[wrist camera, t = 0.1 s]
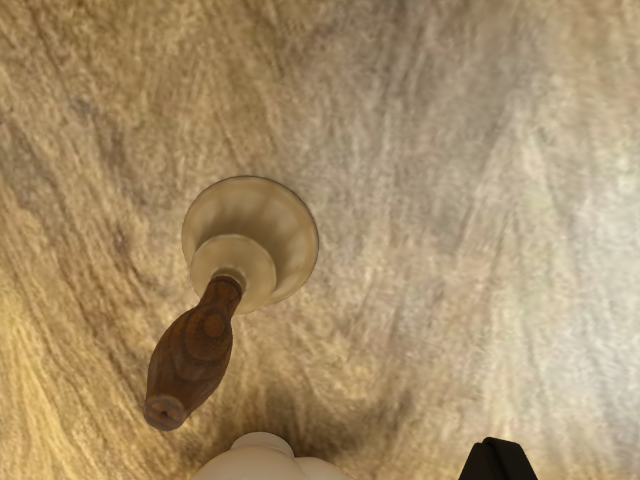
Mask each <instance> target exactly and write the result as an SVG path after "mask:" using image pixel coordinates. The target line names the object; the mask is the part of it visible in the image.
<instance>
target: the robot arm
mask: <svg viewBox="0 0 640 480" xmlns="http://www.w3.org/2000/svg"><path fill="white" fill-rule="evenodd" d="M458 480H538V479H537V477H536V475H535V473H534V471H533V469H532V467H531V465H530V463H529V461H528V459H527V457H526V455H525V453H524V451H523V449H522V447H521V446H520V445H519V444H517V443H515V442H510V441H506V440H501V439H497V438H493V437H486V438H485V439H484V440H483V442H482V443H475V444H474V446H473V447H472V449H471V452H470V454H469V456H468V459H467V461H466V463H465V465H464V468H463V470H462V472H461V475H460V477H459V479H458Z"/></svg>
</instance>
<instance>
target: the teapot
mask: <svg viewBox="0 0 640 480" xmlns="http://www.w3.org/2000/svg"><path fill="white" fill-rule="evenodd" d="M190 480H355V479H354V478H353V477H352V476H350V475H349V474H347V473H346V472H345V471H343V470H342V469H340V468H338V467H337V466H335V465H333V464H331V463H329V462H327V461H325V460H322V459H319V458H315V457H298V458H294V454H293V451H292V449H291V447H290V446H289V445H288V443H287V442H286V441H284V440H283V439H282V438H280V437H278V436H276V435H274V434H271V433H267V432H252V433H248V434H245V435H243V436H241V437H240V438H238V439H237V440H236V441H235V442H234V443H233V444H232V446H231V448H230V450H228V451H226V452H223V453H221V454H219V455H218V456H216V457H214V458H213V459H211V460H210V461H208V462H207V463H206V464H205V465H203V466H202V467H201V468H200V469H199V470H198V471H197V472H196V473H195V474H194V475H193V476H192V477H191V478H190Z"/></svg>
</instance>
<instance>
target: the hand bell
mask: <svg viewBox="0 0 640 480" xmlns="http://www.w3.org/2000/svg"><path fill="white" fill-rule="evenodd" d="M182 248H183V253H184V257H185V260H186V262H187V264H188V267H189V269H190V278H191V283H192V286H193V288H194V290H195V292H196V294H197V295H198V297H199V298H200V299H201V300H200V302H199V304H198V305H197V306H196V307H194V308H192V309H191V310H189V311H187V312H185V313H184V314H182V315H181V316H180V317H179V318H177V319H176V320H175V321H174V322H173V323H172V324H171V326H170V327H169V328H168V329H167V330H166V331H165V333H164V334H163V336H162V337H161V339H160V341H159V342H158V344H157V346H156V347H155V350H154V352H153V354H152V357H151V360H150V364H149V368H148V377H147V394H146V400H145V404H144V407H143V414H144V418H145V420H146V422H147V423H148V424H149V425H151V426H152V427H155V428H157V429H160V430H162V431H171V430H174V429H177V428H178V427H180V426H181V425H182V424H183V423H184V421H185V420H186V419H187V418H188V416H189V415H190V414H191V413H192V412H193V411H194V410H195V409H197V408H198V407H199V406H200V405H202V404H203V403H204V402H205V401H206V400H207V399H208V398H209V396H210V395H211V394H212V393H213V392H214V391H215V389H216V388H217V387H218V385H219V384H220V382H221V380H222V378H223V376H224V374H225V372H226V369H227V366H228V363H229V360H230V356H231V351H232V343H233V335H232V328H231V323H230V322H231V318H232V316H233V315H243V314H247V313H250V312H253V311H255V310H257V309H259V308H260V307H262V306H265V305H270V304H274V303H277V302H280V301H282V300H284V299H286V298H288V297H290V296H291V295H292V294H294V293H295V292H296V291H298V290H299V289H300V288H301V287H302V286H303V285H304V283H305V282H306V281H307V279H308V278H309V276H310V275H311V273H312V271H313V269H314V266H315V264H316V260H317V254H318V236H317V230H316V227H315V224H314V221H313V219H312V217H311V215H310V213H309V211H308V209H307V208H306V206H305V205H304V204H303V203H302V201H301V200H300V199H299V198H298V197H297V196H296V195H295V194H294V193H292V192H291V191H290V190H288V189H287V188H285V187H284V186H282V185H279V184H278V183H275V182H273V181H270V180H267V179H264V178H259V177H251V176H241V177H234V178H229V179H226V180H223V181H220V182H218V183H216V184H214V185H212V186H210V187H209V188H207V189H206V190H204V191H203V192H202V193H201V194H200V195H199V196H198V197H197V198H196V199H195V200H194V202H193V203H192V205H191V206H190V208H189V210H188V212H187V214H186V217H185V219H184V223H183V227H182Z"/></svg>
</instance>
